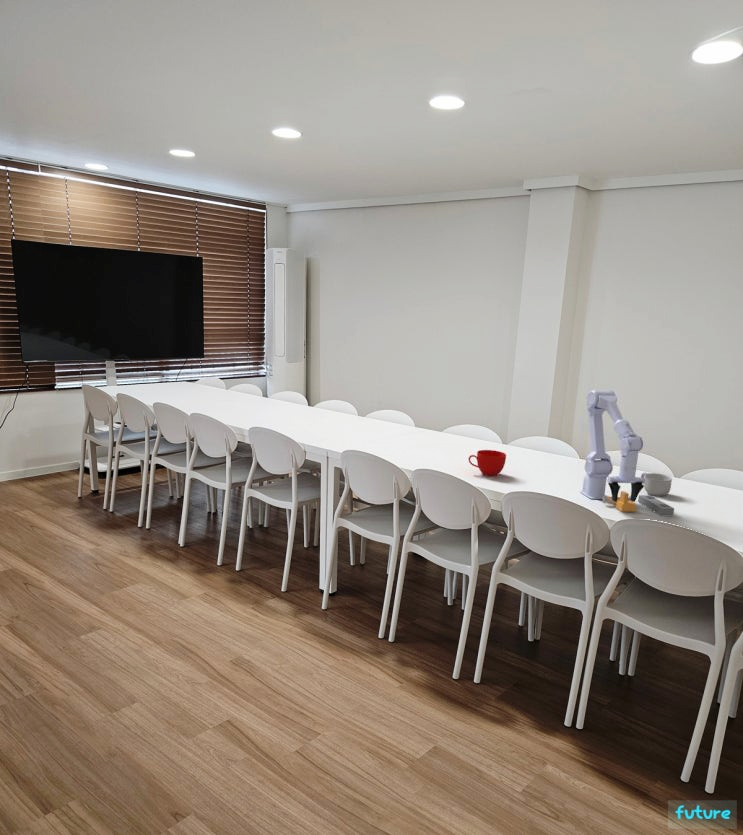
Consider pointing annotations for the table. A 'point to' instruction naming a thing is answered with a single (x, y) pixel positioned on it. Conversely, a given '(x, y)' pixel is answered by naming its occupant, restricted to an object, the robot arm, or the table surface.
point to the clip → (609, 500)
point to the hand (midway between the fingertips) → (623, 500)
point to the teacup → (657, 483)
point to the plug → (625, 503)
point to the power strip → (656, 505)
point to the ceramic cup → (489, 462)
